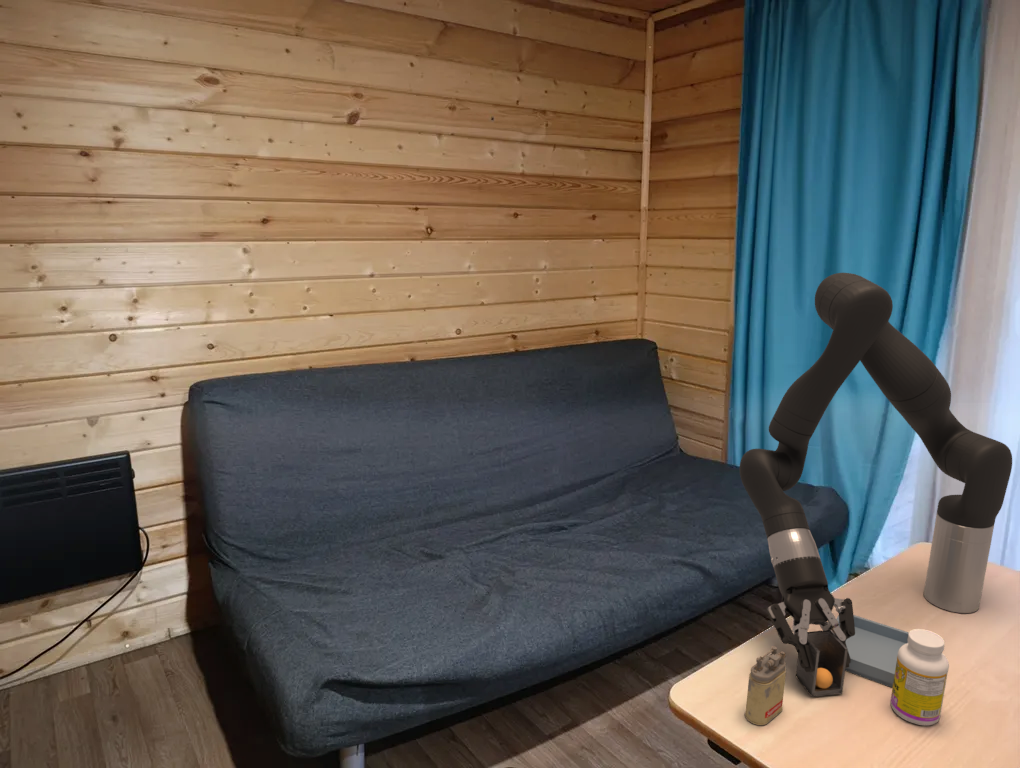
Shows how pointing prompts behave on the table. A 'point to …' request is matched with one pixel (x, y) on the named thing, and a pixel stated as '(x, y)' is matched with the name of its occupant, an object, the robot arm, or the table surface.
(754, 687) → the lighter
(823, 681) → the ball
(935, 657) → the supplement bottle
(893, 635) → the tray
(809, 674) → the open box
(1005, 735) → the table surface
